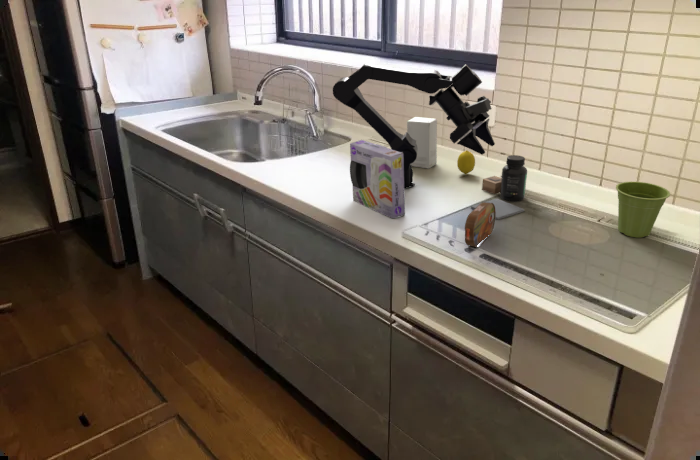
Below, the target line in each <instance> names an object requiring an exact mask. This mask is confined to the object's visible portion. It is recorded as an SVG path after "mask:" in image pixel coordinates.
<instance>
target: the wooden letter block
mask: <svg viewBox="0 0 700 460" xmlns="http://www.w3.org/2000/svg"><path fill="white" fill-rule="evenodd" d="M501 178H502V177H500V176H496V175H493V176H489V177H485V178H483V179H482V185H481V190H482V191H484V192H488V193H490V194H492V195H497V194H500V189H501Z"/></svg>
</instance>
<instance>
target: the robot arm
mask: <svg viewBox="0 0 700 460" xmlns="http://www.w3.org/2000/svg"><path fill="white" fill-rule="evenodd" d="M368 80H373V81H379V82H385V83H391V84H398V85H405V86H409V87H411V88H414V89H416V90H418V91H421V92H424V93H427V94H431V95H429V96H428V98H429V101H428V105H429V106H433V105H434V104H436V103H437V105H438V106H439V107H440V108H441V109H442V111H443V112H444V114H446V120H448V121H451V122H452V123H453V124H454V125H455V127H456V128H455V129H454V130H453V131H451V132H450V134H449V140H450V141H451V142H452V144H455V143H456V145H460V146H462V147H465V148H466V149H469V150H471V151H474V152H476V153H478V154H479V155H484V154H485V153H486V151H485V149H484V147H483V145H482V144H481V142H480V140H481V141H483V142H484V143H486V144H488V145H489V146H490V147H493V146H495V144H496V143H495V141H494V139H493V136H492V133H491V131H490V129H489V122H490V114H489V113H488V112H489V111H490V110H492V106H491V103H492V101H491V100H490V99H489V98H487V97H486V96H485V95H482V96H479V97H477V101H476V102H474V103H472V104H470V103H469V102H467V101H465V102H464V101H463V100H462V98H460V97H459V96H461V97H462V96H466V97H467V96H468V95H470V94H471V93H472V92H473V91H474V90H475V89H477V87H479V86H480V85H481V84H482V83H483V81H482V79H481V78H480V77H479V75H478V74H477V73H476V72H475V71H473V70H472V69H471V68H470V67H469V66H468V64H464V65H463V66H462V67H461V68H460V69H459V71H457V72H456V73H455V74H454V75H445V74H441V73H440V72H439V71H438V70H437V69H417V70H409V69H401V68H396V67H395V68H394V67H389V66H384V65H378V64H377V65H376V64H372V63H369V62H367V63H364V64H363V65H362V66H361V67H360V68H359V69H358V70H356V71H354V72H353V73H352V74H351V75H349V76H348V77H346V76H344V77H341V78H339V79H338V80H337V81H336V83H334V85H333V87H332V94H333V97H334V98H335V99H336V100H338V101H339V102H340V103H341V104H343V105H345V106H346V107H348V108H350V109H352V110H353V111H355V112H356V113H357V114H358V115H359V116H360V117H361V118H362V119H363V120H364V121H365V122H366V123H367V124H368V125H369V126H370V127H371V128H373V130H374V131H375V132H376V133H377V134H378V135H379V136H380V137H381V138H383V140H384V141H385V142H386V143H387V144H388V145H389V147H390V149H392V150H395V151H398V152H402V153H403V158H404V189H407V188H411V187H415V186H416V184H415V183H413V180H414V179H413V178H414V175H413V174H414V172H413V171H414V170H413V169H414V168H413V166H412V165H410V164H411V163H413V162H414V161H415V160H416V157H417V152H418V147H417V145H416V140H414V139H412V138H411V137H410V135H409V134H408V133H407V131H406V132H405V133H404V134H403V133H401V132H398V131H397V130H396V129H395V128H394V127H393V126H392V125H391V124H390V122H388V121H387V120H386V119H385V118H384V117H383V116H382V114H380V112H378V111H377V110H376V109H375V108H374V107H373V106H372V105H371V104H370V103H369V102H368V101H367V100H366V99H365V97H364V96H363V94H362V92H361V89H359V88H360V86H362V85H363V84H364V83H365V82H366V81H368ZM444 89H445V90H444ZM454 90H455V91H454ZM457 93H458V94H457ZM433 94H434V95H433ZM479 139H480V140H479Z"/></svg>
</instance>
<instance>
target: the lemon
mask: <svg viewBox="0 0 700 460" xmlns="http://www.w3.org/2000/svg"><path fill="white" fill-rule="evenodd" d="M456 163H457V169H458V171H460V172H461V173H463V175H466V176H467V175H468V174H469V173H472V171H473V170H474V169H475V166H476V158H475V156H474V154H473V153H472V152H471V151H469V150H467V149H466V150H465V151H462V152H461V153H460V154H459V155H458V158H457V162H456Z"/></svg>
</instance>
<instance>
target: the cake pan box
mask: <svg viewBox="0 0 700 460" xmlns="http://www.w3.org/2000/svg"><path fill="white" fill-rule="evenodd" d="M349 148H350V164H349V175H350V176H349V177H350V181H351V184H352V200H353V202H355V203H357V204H359V205H362V206H364V207H366V208H368V209H370V210H372V211H375V212H376V213H377V212H378V213H379V214H382V215H384V216H387V217H388V218H391V219H396V218H399V217H403V216H405V214H406V208H405V205H406V203H405V199H406V198H405V188H404V158H403V153H402V152H398V151H395V150H392V149H391V148H388V147H387V146H385V145H381V144H378V143H373V142H370V141H367V140H364V139H360V140H359V139H358V140H357V141H353V142H350V143H349Z"/></svg>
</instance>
